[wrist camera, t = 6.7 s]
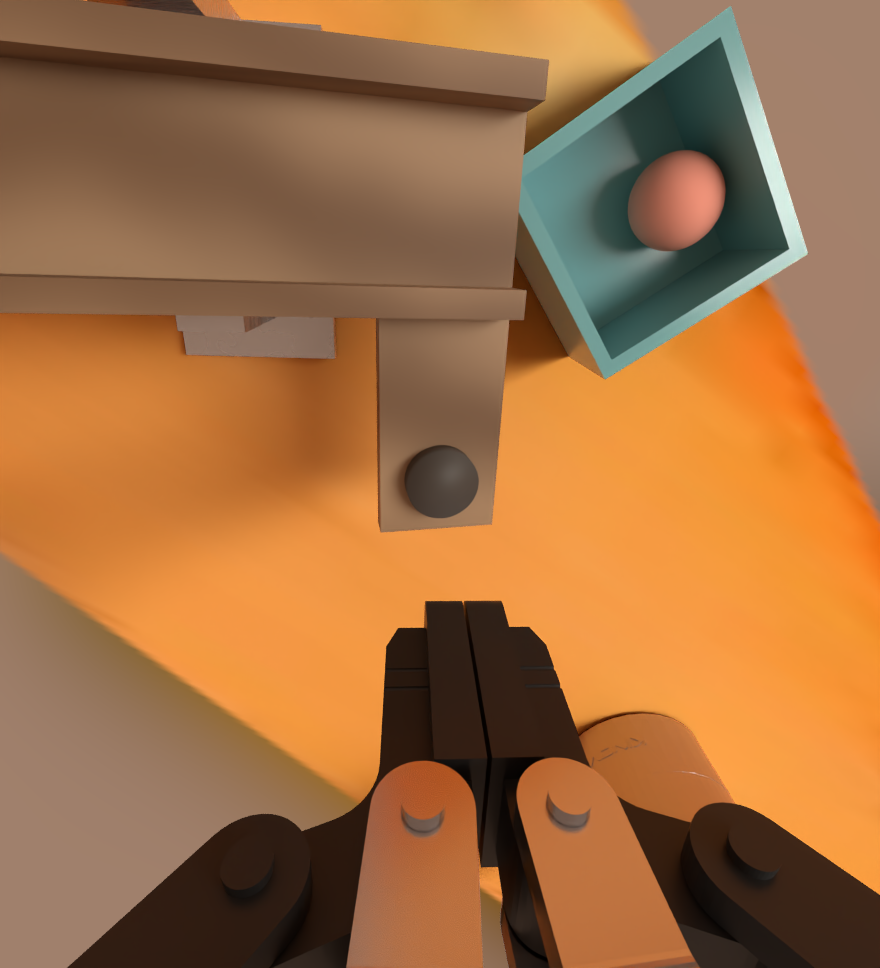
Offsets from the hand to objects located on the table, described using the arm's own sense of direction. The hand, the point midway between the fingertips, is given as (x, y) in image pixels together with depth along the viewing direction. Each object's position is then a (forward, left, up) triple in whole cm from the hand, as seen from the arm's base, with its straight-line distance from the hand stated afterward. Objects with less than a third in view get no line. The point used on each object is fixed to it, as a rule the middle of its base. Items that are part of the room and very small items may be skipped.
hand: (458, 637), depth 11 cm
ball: (+3, -12, -12) cm, 18 cm away
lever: (+8, +3, -8) cm, 12 cm away
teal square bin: (+3, -11, -15) cm, 18 cm away
